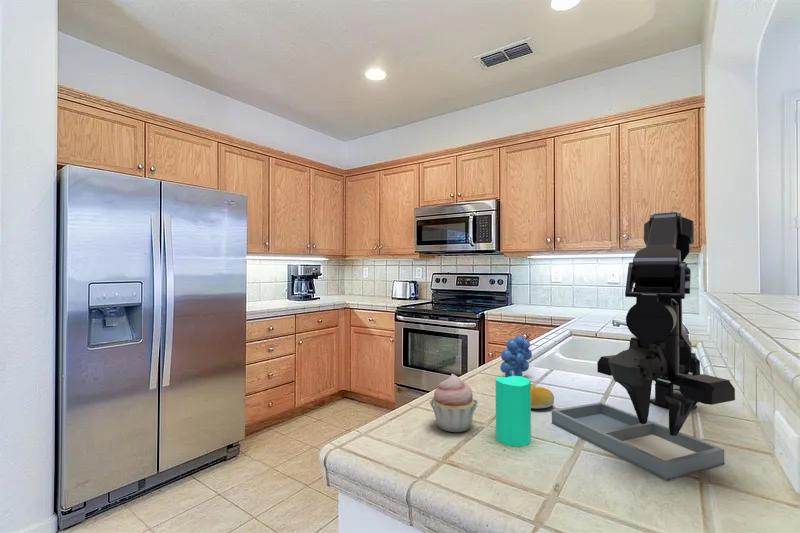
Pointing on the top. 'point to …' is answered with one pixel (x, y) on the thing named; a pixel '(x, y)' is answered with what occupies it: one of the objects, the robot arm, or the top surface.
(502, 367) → the grapes
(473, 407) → the cupcake
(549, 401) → the bread roll
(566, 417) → the gray divided tray
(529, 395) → the candle
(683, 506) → the top surface
